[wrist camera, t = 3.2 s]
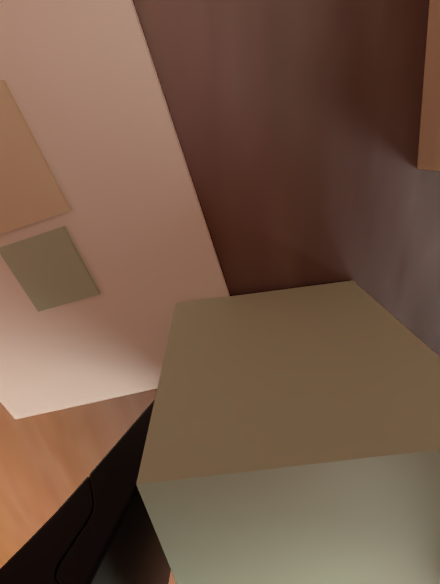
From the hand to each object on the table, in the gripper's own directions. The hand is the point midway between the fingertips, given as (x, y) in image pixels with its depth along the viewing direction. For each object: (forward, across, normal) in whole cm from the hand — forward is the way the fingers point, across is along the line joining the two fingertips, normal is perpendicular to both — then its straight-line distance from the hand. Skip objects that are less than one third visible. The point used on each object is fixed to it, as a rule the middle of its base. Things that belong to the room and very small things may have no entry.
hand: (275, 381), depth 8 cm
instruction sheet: (+1, +6, -5) cm, 8 cm away
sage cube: (+1, 0, 0) cm, 1 cm away
